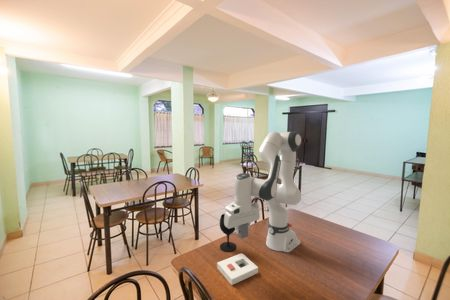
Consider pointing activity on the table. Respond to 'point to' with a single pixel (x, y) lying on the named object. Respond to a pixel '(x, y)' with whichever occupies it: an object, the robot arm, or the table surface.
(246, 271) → the socket plate
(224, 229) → the wine glass
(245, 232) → the plug
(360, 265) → the table surface
